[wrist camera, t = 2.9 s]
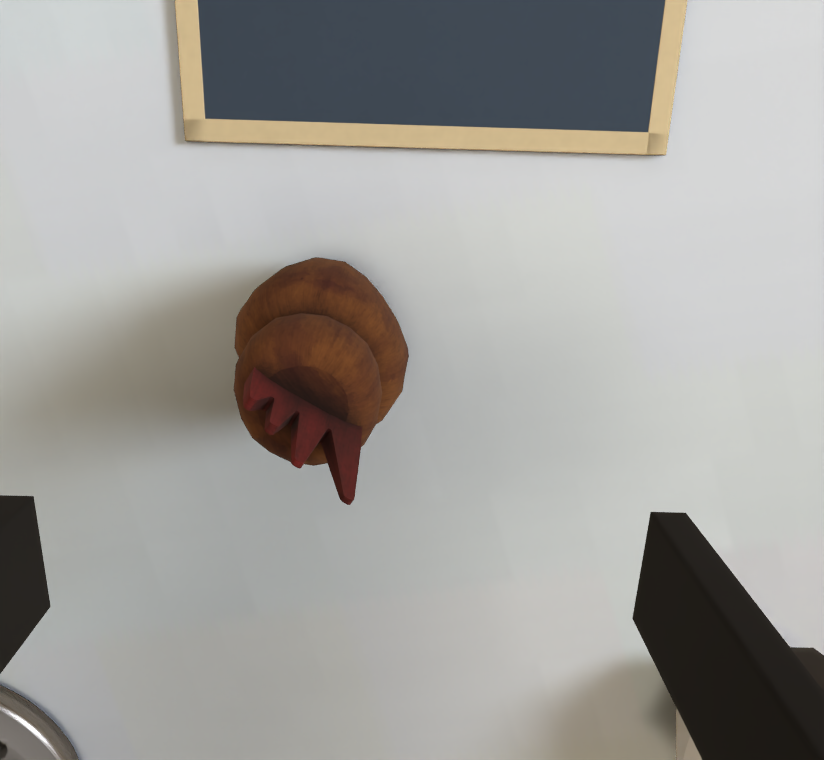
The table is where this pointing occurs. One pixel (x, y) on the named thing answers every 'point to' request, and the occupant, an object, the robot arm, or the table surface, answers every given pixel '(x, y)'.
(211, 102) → the framed chalkboard
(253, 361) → the wooden figurine
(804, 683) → the robot arm
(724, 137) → the table surface
